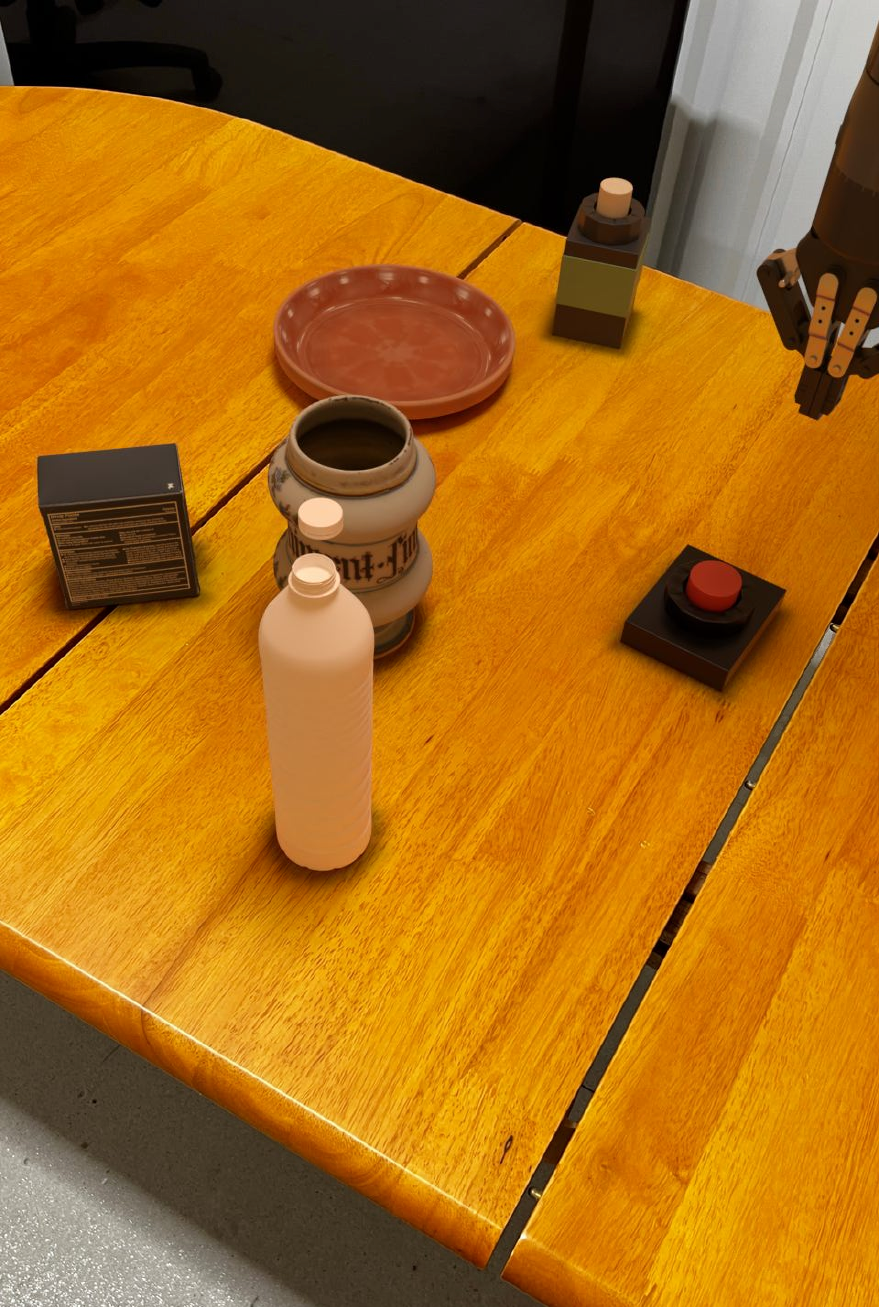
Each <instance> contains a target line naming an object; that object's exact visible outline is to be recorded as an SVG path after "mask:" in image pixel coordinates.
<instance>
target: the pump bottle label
mask: <svg viewBox="0 0 879 1307" xmlns="http://www.w3.org/2000/svg"><path fill="white" fill-rule="evenodd" d="M649 237H650V232H648V235H647V238H646V241H645V244H644V247H643V250H642V253H641V256H640V259H639V262H638V265H637V268H636V269H630V268H625V267H620V266H616V265H611V264H606V263H601V262H596V261H591V260H586V259H581V258H576V257H571V256H566V255H564V252H563V253H562V255H561V261H560V267H559V268H560V269H559V276H558V281H557V282H558V283H557V288H556V296H555V304H556V303H557V304H561V305H566V306H571V307H576V308H581V309H586V310H590V311H595V312H600V313H605V314H610V315H614V316H619V317H624V318H627V317H628V314H629V311H630V308H631V305H632V302H633V299H634V296H635V293H636V294H637V291H636V290H638V286H639V283H640V281H641V276H642V271H643V267H644V262H645V257H646V253H647V248H648V247H647V246H648V242H649ZM635 297H636V296H635Z"/></svg>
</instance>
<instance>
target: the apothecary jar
mask: <svg viewBox="0 0 879 1307" xmlns="http://www.w3.org/2000/svg"><path fill="white" fill-rule="evenodd" d="M288 433H289V434H288V435H286V437H285V438H284V439H283V440H282V441H281V442H280V443H279V444H278V446H277V447H276V449H275V451H273V452H274V453H273V454H272V455H271V459H270V461H269V465H268V468H267V469H268V470H267V487H268V491H269V492H268V493H269V495H270V498H271V501H272V502H273V504H274V506H275V508H276V509H277V510H278V512H279V513H280V514H281V516H283V518H284V519H285V520H287V528H286V529H285V530H284V531H283V533H282V534H281V535H280V538H278V541H277V544H276V546H275V549H274V552H273V559H272V569H273V575H274V579H275V583H276V585H277V587H278V589H279V591H280V592H281V591H282V590H283V589H284V588H285V587H287V586H288V585H289V582H288V578H289V574H290V573H291V571H292V565H293V564H294V562H295V561H296V560H297V559H298V558H299V557H301V556H303V555H306V554H312V553H316V554H322V555H325V556H327V557H328V558H330V559H331V560H332V561H333V563H334V564H335V567H336V571H337V572H338V574H339V576H340V584H341V585H343V586H344V587H345V588H346V589H347V590H349V591H350V592H351V593H352V594H353V595H354V596H355V597H357V598H358V599H359V601H360V602H361V603H362V604H363V605H364V607H365V608H366V609H367V611H368V613H369V616H370V619H371V622H372V625H373V630H374V653H373V661H374V660H377V659H382V658H384V657H386V656H388V655H390V654H392V653H394V652H396V651H397V650H398V649H399V648H401V647H402V646H403V645H404V644H405V643H406V642H407V641H408V639H409V638H410V636H411V634H412V632H413V630H414V626H415V621H416V619H415V618H416V613H415V607H416V606H417V605H418V604H419V603H420V602H421V601H422V600H423V598H424V596H425V595H426V593H427V592H428V589H429V587H430V585H431V582H432V578H433V572H434V560H433V554H432V551H431V547H430V544H429V543H428V541H427V539H426V537H425V535H424V534H423V533H422V532H421V530H420V529H419V528H418V527H419V526H418V523H419V522H418V520H419V519H421V517H423V515H424V514H425V513H426V512H427V510H428V509H429V507H430V505H431V504H432V503H433V502H432V501H433V499H434V497H435V493H436V489H437V488H436V487H437V473H436V469H435V468H436V467H435V465H434V462H433V459H432V456H431V455H430V453H429V451H428V449H427V448H426V447H425V446H424V445H423V443H422V442H421V441H420V440H419V439H418V438H417V437H416V436H415V435H414V432H413V427H412V425H411V422H410V421H409V420H408V419H407V418H406V416H405V415H404V414H403V413H402V412H401V411H399V410H398V409H397V408H395V407H394V406H392V405H391V404H389V403H387V402H385V401H382V400H379V399H376V398H372V397H368V396H361V395H341V396H335V397H330V398H326V399H324V400H321V401H319V400H317V401H315V402H314V403H312V404H310V405H309V406H307V407H305V408H304V409H303V410H301V411H300V413H298V414H297V415H296V417H295V418H294V419H293V421H292V424H291V426H290V429H289V432H288ZM314 498H327V499H331V500H333V501H335V502H337V503H338V504H339V505H340V506H341V508H342V511H343V529H342V531H341V532H340V533H339V534H338V535H337V536H335V537H333V538H331V539H327V540H315V539H311V538H309V537H307V536H305V535H304V534H303V533H302V532H301V531H300V529H299V525H298V510H299V508H300V506H301V505H302V504H303V503H304V502H306V501H308V500H310V499H314ZM336 532H337V531H336ZM308 534H309V533H308ZM311 535H312V534H311ZM330 535H331V534H330ZM316 536H317V535H316ZM325 536H327V535H325Z"/></svg>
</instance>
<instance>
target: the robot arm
mask: <svg viewBox="0 0 879 1307" xmlns="http://www.w3.org/2000/svg"><path fill="white" fill-rule="evenodd" d="M877 22H878V23H877V25H876V28H875V32H874V35H873V39H872V42H871V45H870V48H869V51H868V55H867V58H866V61H865V64H864V67H863V69H862V73H861V76H860V77H859V80H858V82H857V84H856V87H855V89H854V91H853V93H852V95H851V98H850V100H849V103H848V106H847V109H846V112H845V113H844V116H843V117H844V118H843V120H842V123H841V124H840V125H839V128H838V132H837V135H836V139H835V142H834V144H835V145H834V146H835V147H834V149H833V150H834V151H833V154H832V158H831V161H830V163H829V167H828V170H827V173H826V177H825V180H824V183H823V187H822V188H821V193H820V196H819V199H818V202H817V206H816V210H815V213H814V216H813V220H812V222H811V226H810V229H809V230H808V231H807V233H806V234H805V235H804V236H803V237H802V238H801V239H800V240H799V241H798V243H797V245H796V247H794V248H791V249H787V250H786V249H785V248H776V249H775V250H774V251H772V252H771V254H769V255H768V256H767V257H766V258H765V259H764V260H763V261H762V263H761V264H760V265H759V266H758V268H757V269H756V274H755V275H756V278H757V281H758V283H759V286H760V288H761V291H762V294H763V296H764V299H765V301H766V304H767V307H768V309H769V313H770V314H771V317H772V320H773V322H774V325H775V327H776V330H777V333H778V335H779V338H780V341H781V343H782V346H783V347H784V348H785V349H786V350H788V351H796V352H798V353H799V354H800V355H801V356H802V359H803V362H804V365H803V368H802V371H801V374H800V377H799V380H798V383H797V386H796V388H795V393H794V403H795V404H797V405H799V407H798V411H797V413H798V414H800V415H803V416H805V417H807V418H810V419H812V420H814V421H817V422H818V421H819V420H820V419H821V418H822V416H823V415H824V416H826V417H828V416H830V414H831V413H832V412H833V411H834V410H835V408H836V407H837V406H838V405H839V404H840V402H841V401H842V397H843V395H844V392H845V390H846V387H847V384H848V382H849V380H850V379H849V378H850V377H851V376H858V377H859V378H860V379H862V380H870V379H872V378H873V377H875V376H877V375H879V342H877V343H875V344H873V345H872V347H865V346H864V345H865V343H866V341H867V338H868V336H869V334H870V333H871V331H872V330H876V329H879V21H877ZM800 278H801V279H802V281H803V285H804V288H805V290H806V292H805V293H806V295H807V299H808V301H809V303H810V305H811V307H812V308H813V310H812V314H811V311H810V310H809V307H808V303H807V301H806V298H805V295H804V293H803V290H802V288H801V285H800V282H799V280H800ZM842 324H843V325H844V326H843V328H842V331H841V333H840V330H841V326H842ZM839 334H840V335H839Z"/></svg>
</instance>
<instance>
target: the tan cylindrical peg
mask: <svg viewBox="0 0 879 1307" xmlns="http://www.w3.org/2000/svg"><path fill="white" fill-rule="evenodd" d="M633 190H634V188H633V185H632V183H631V182H630V181H628V180H627V179H623V178H620V177H609V178H605V179H603V180H602V181H601V182H600V185H599V190H598V191H599V192H598V193H599V196H598V202H597V208H596V211H597V213H599V214H601V215H603V216H604V217H609V218H624V217H626V216H627V215H628V211H629V206H630V201H631V198H632V194H633Z"/></svg>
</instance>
